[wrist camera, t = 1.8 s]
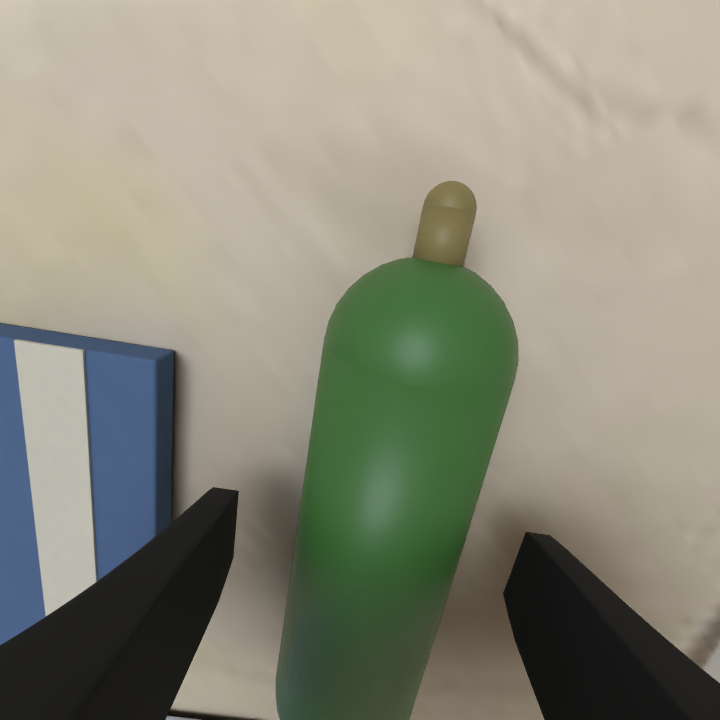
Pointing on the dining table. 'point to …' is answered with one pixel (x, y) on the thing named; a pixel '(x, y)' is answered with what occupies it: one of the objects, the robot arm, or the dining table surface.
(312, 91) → the dining table surface
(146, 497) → the towel
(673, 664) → the robot arm
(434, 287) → the courgette
